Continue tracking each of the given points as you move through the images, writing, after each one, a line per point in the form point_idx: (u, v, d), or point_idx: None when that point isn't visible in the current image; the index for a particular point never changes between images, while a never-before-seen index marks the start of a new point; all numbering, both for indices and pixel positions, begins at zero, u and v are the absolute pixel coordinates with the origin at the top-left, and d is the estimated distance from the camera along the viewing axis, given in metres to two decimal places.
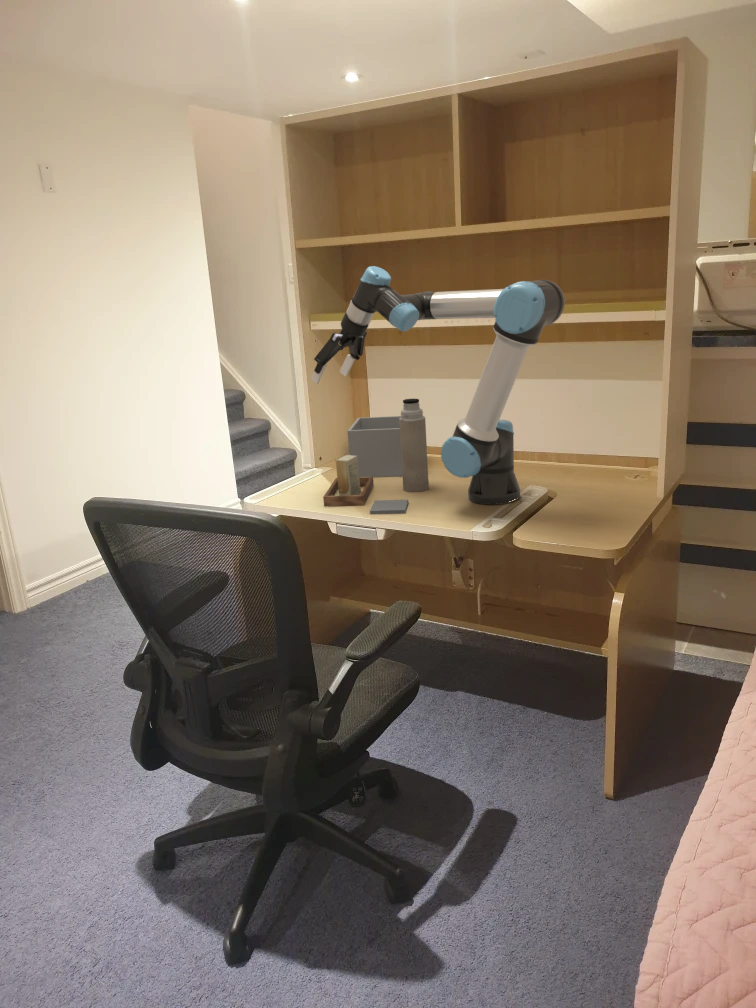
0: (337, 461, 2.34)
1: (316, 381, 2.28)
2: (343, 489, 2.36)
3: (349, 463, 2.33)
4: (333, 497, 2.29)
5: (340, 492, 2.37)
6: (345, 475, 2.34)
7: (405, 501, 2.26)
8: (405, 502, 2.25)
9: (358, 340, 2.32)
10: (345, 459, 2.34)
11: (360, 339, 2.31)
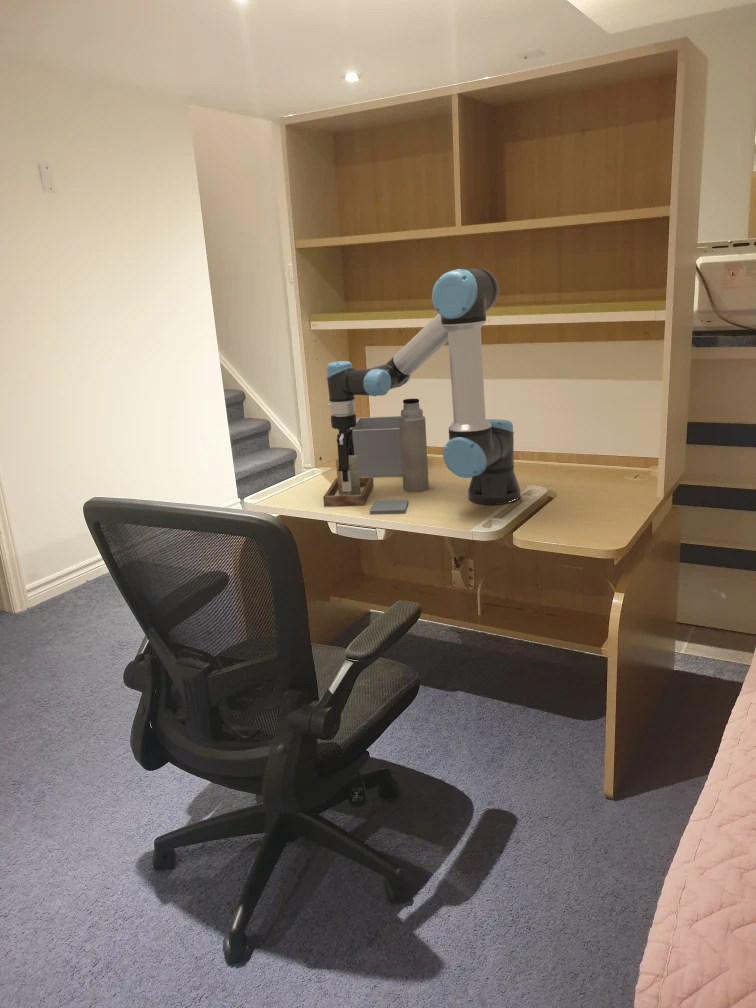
0: (337, 461, 2.34)
1: (349, 489, 2.34)
2: None
3: (349, 463, 2.33)
4: (333, 497, 2.29)
5: (340, 492, 2.37)
6: None
7: (405, 501, 2.26)
8: (405, 502, 2.25)
9: None
10: None
11: None
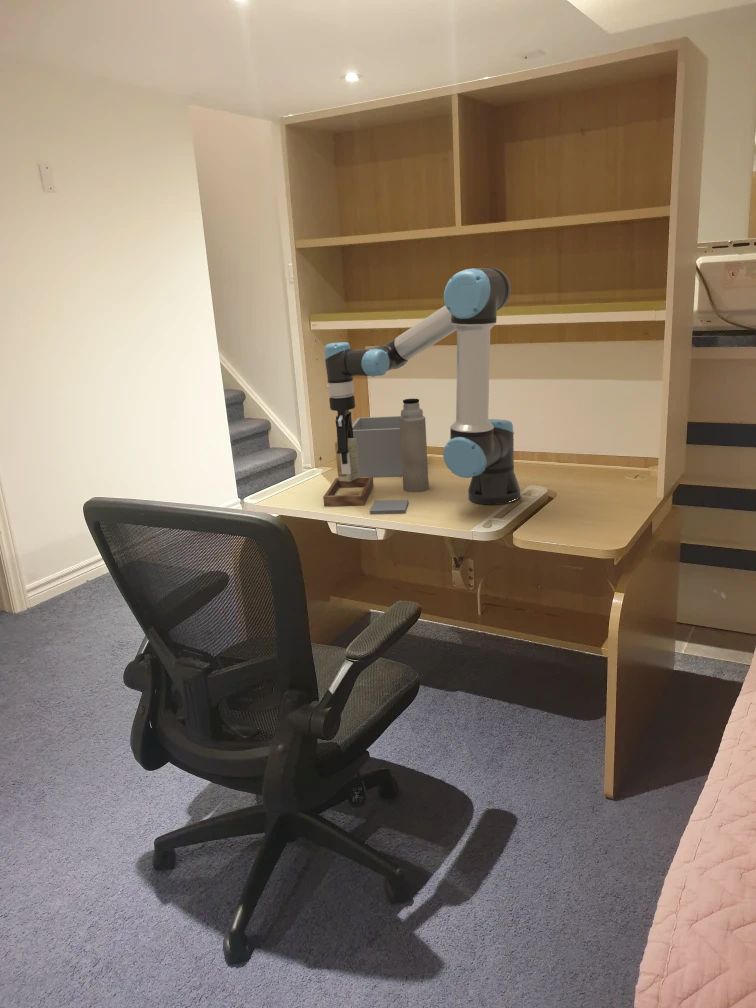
0: (336, 443, 2.32)
1: (349, 472, 2.32)
2: None
3: (348, 446, 2.32)
4: (333, 497, 2.29)
5: (339, 475, 2.35)
6: None
7: (405, 501, 2.26)
8: (405, 502, 2.25)
9: None
10: None
11: None
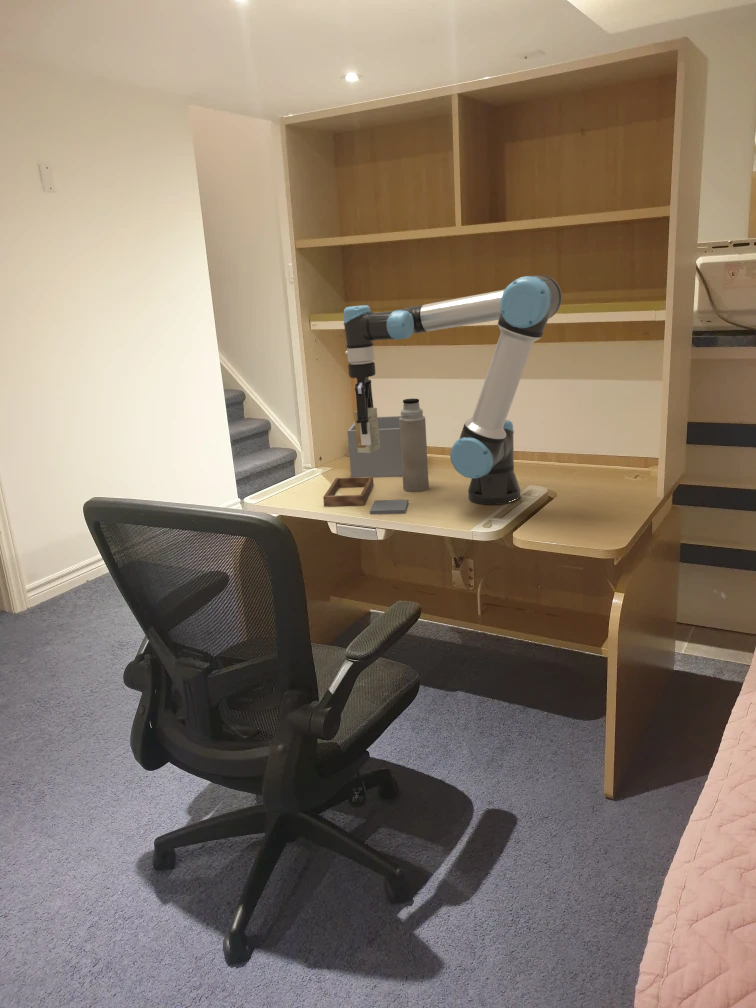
0: (355, 413, 2.21)
1: (369, 443, 2.21)
2: None
3: (368, 415, 2.20)
4: (333, 497, 2.29)
5: (359, 446, 2.24)
6: None
7: (405, 501, 2.26)
8: (405, 502, 2.25)
9: None
10: None
11: None
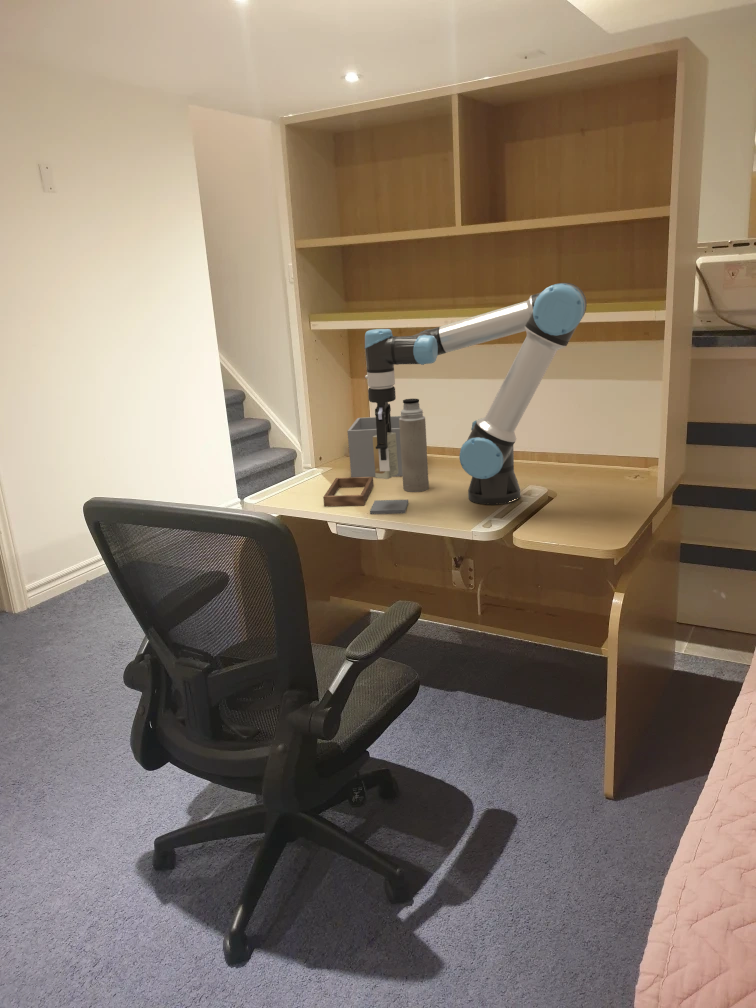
0: (374, 438, 2.16)
1: (387, 469, 2.16)
2: None
3: (387, 440, 2.15)
4: (333, 497, 2.29)
5: (377, 472, 2.19)
6: None
7: (405, 501, 2.26)
8: (405, 502, 2.25)
9: None
10: None
11: None
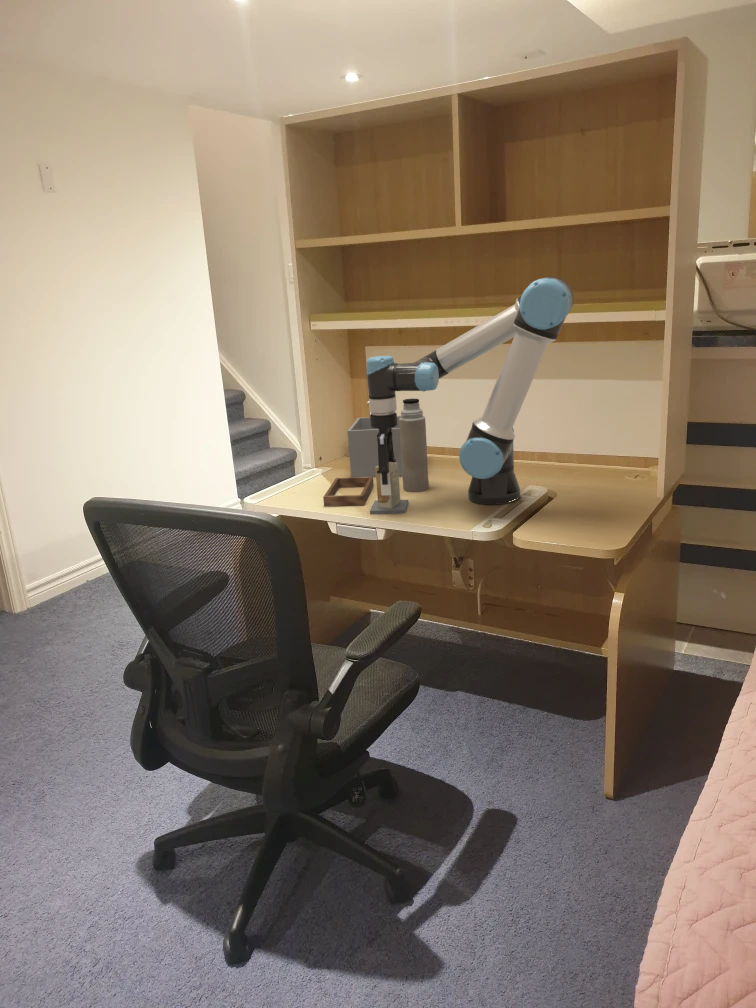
0: (377, 468, 2.18)
1: (389, 493, 2.17)
2: (383, 499, 2.20)
3: (390, 471, 2.18)
4: (333, 497, 2.29)
5: (379, 501, 2.21)
6: None
7: (405, 501, 2.26)
8: (405, 502, 2.25)
9: None
10: None
11: None
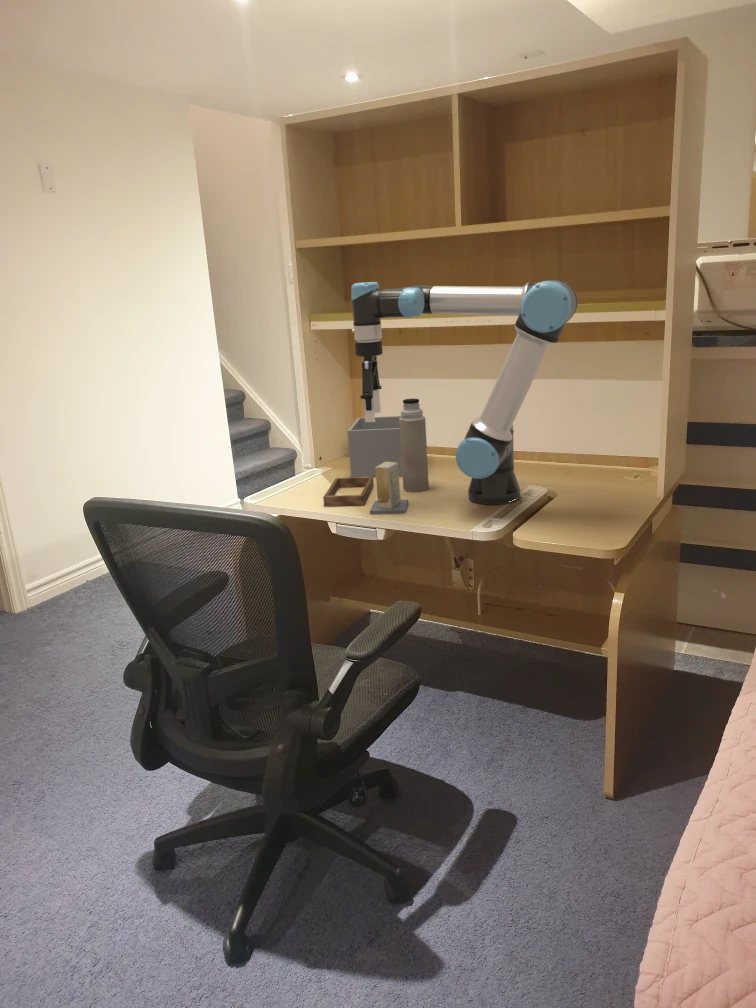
0: (377, 468, 2.18)
1: (373, 420, 2.12)
2: (383, 499, 2.20)
3: (390, 471, 2.18)
4: (333, 497, 2.29)
5: (379, 501, 2.21)
6: (385, 484, 2.18)
7: (405, 501, 2.26)
8: (405, 502, 2.25)
9: None
10: (385, 466, 2.18)
11: None
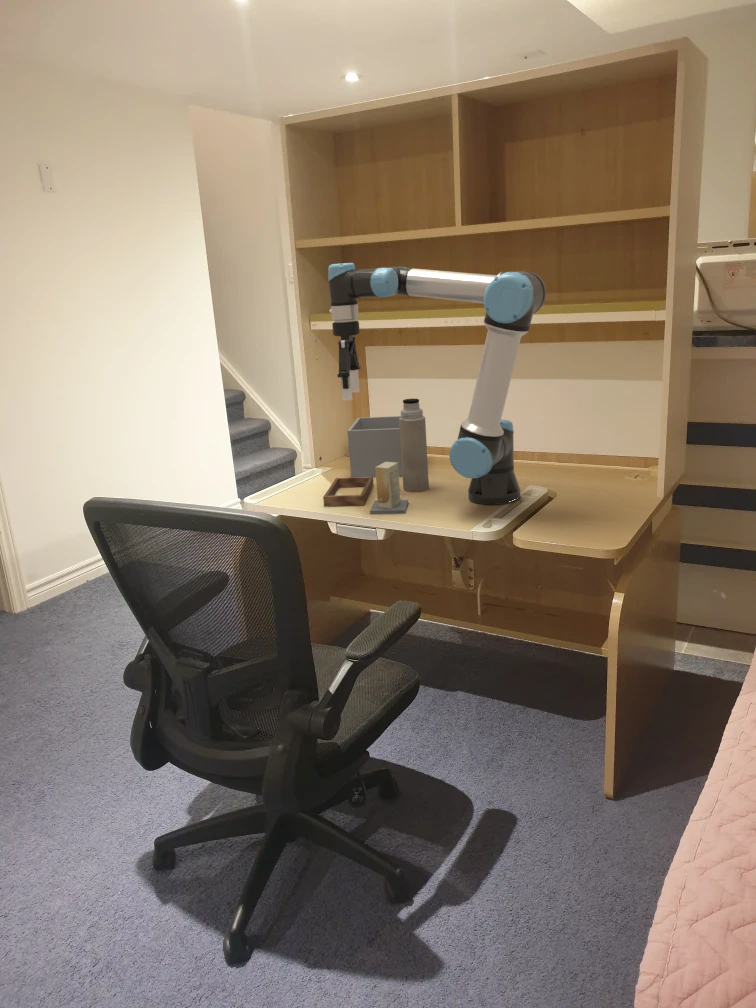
0: (377, 468, 2.18)
1: (350, 398, 2.17)
2: (383, 499, 2.20)
3: (390, 471, 2.18)
4: (333, 497, 2.29)
5: (379, 501, 2.21)
6: (385, 484, 2.18)
7: (405, 501, 2.26)
8: (405, 502, 2.25)
9: None
10: (385, 466, 2.18)
11: None
